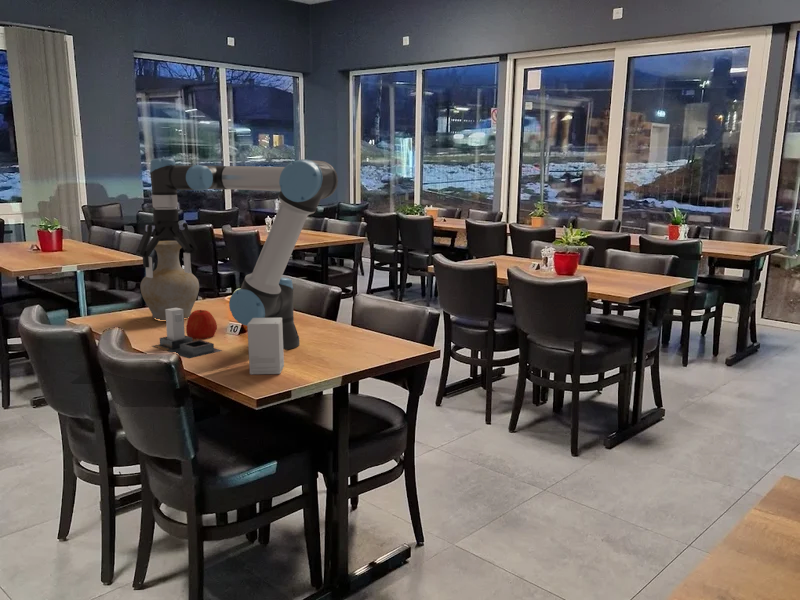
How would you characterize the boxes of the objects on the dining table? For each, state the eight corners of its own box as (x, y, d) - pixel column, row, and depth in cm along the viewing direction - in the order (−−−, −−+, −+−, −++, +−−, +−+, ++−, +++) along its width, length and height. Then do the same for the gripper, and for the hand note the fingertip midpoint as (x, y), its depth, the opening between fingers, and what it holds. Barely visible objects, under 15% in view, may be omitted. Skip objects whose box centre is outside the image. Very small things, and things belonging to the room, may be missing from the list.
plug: (186, 345, 217) (184, 309, 215) (175, 347, 214) (173, 311, 212) (178, 343, 220) (176, 307, 218) (167, 345, 217) (165, 309, 215)
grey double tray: (222, 354, 211) (222, 343, 210) (189, 362, 202) (188, 350, 202) (184, 342, 225) (183, 332, 225) (151, 349, 216) (150, 338, 216)
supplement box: (284, 365, 199) (283, 316, 196) (280, 374, 190) (279, 323, 188) (254, 365, 199) (252, 317, 196) (248, 374, 190) (246, 323, 187)
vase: (187, 310, 279) (183, 238, 273) (209, 318, 262) (205, 242, 256) (134, 316, 265) (129, 241, 259) (154, 326, 248) (148, 246, 243)
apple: (223, 337, 233) (221, 308, 231) (203, 344, 224) (201, 313, 222) (200, 334, 237) (198, 305, 235) (179, 340, 228) (178, 310, 226)
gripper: (193, 206, 222) (196, 269, 226) (121, 209, 203) (126, 278, 207) (206, 207, 217) (209, 271, 221) (134, 210, 198) (138, 280, 202)
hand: (169, 275), depth 214 cm, fingers open, 13 cm apart
